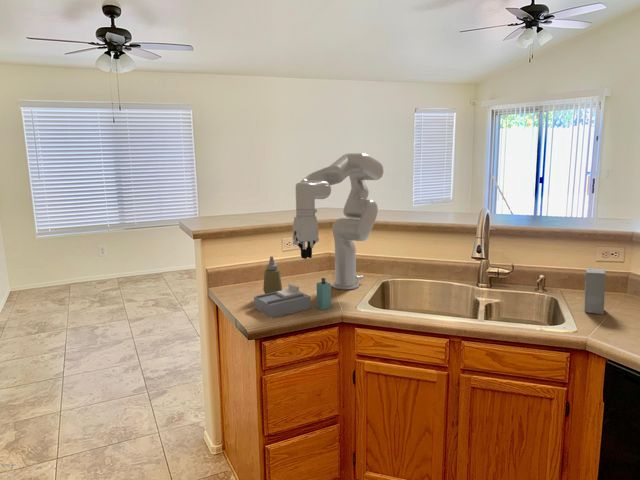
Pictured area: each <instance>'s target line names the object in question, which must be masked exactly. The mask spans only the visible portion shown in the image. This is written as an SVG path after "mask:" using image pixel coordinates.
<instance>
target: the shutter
mask: <svg viewBox="0 0 640 480" xmlns="http://www.w3.org/2000/svg"><path fill="white" fill-rule="evenodd" d="M299 291H300V286H299V285H295V284H294V283H288V288H287V290H286V289H282V291H277V294H278V295H280V296H282V297H284V298H285V297H289V296H294V295H299V294H301V293H300V292H301V291H300V292H299Z"/></svg>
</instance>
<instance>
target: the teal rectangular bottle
mask: <svg viewBox="0 0 640 480" xmlns="http://www.w3.org/2000/svg"><path fill="white" fill-rule="evenodd" d="M320 280H321V282H316V308H319V309H320V310H326V309H330V308H332V301H331V300H332V297H331V296H332V295H331V294H332V292H331V289H332V288H331V286H332V283H330V282H328V281H326V277H321V279H320Z"/></svg>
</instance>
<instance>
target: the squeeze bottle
mask: <svg viewBox="0 0 640 480" xmlns="http://www.w3.org/2000/svg"><path fill="white" fill-rule="evenodd" d="M265 267H266V269H264V272H263V273H264V275H263V294H267V293H271V292H276V291H281V290H283V287H282V284H283V283H282V278H281V270H280V269H278V264H277V263H275V259H274V256H270V257H269V261H268V263H267V264H266V266H265Z"/></svg>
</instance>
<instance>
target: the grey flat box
mask: <svg viewBox="0 0 640 480" xmlns="http://www.w3.org/2000/svg"><path fill="white" fill-rule="evenodd" d="M287 289H288V288H287ZM287 289H285V290H287ZM282 290H283V289H282ZM282 290H281V291H282ZM299 292H300V293H301V294H299V295H294V296H289V297H285V298H284V297H282V296H280V295H278V294H277V291H276V292H271V293H267V294H265V293H262V294H259V295H254V296H253V304H254V306H253V307H254V309H255V310H257V311H259V312H260V313H262V314H264V315H266V316H267V317H269V318H270V317H271V319H273V318H277V316H278V317H281V315H282V316H285V314H286V315H289V313H290V314H293V313H294V314H295V313H298V312H301V311H305V310H309V309H312V306H311V305H312V299H311V297H312V296H311V295H308V294H306V293H303V292H302V291H300V290H299Z"/></svg>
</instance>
